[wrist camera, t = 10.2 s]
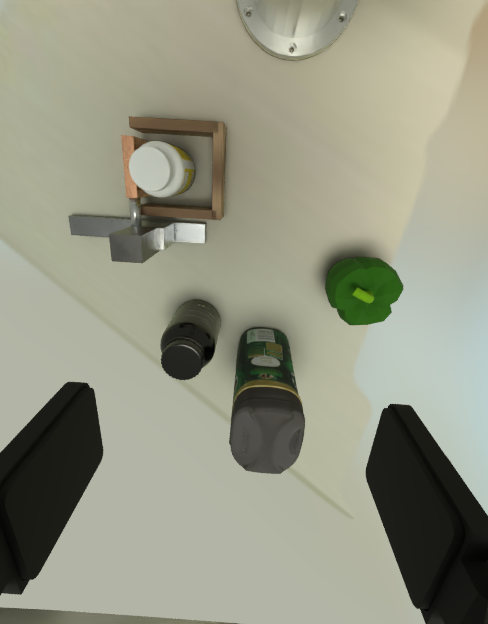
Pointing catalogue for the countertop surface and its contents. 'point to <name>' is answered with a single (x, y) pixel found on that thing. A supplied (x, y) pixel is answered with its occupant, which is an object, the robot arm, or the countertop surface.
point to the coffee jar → (265, 404)
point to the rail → (110, 224)
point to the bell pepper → (363, 289)
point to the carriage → (138, 220)
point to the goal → (219, 152)
